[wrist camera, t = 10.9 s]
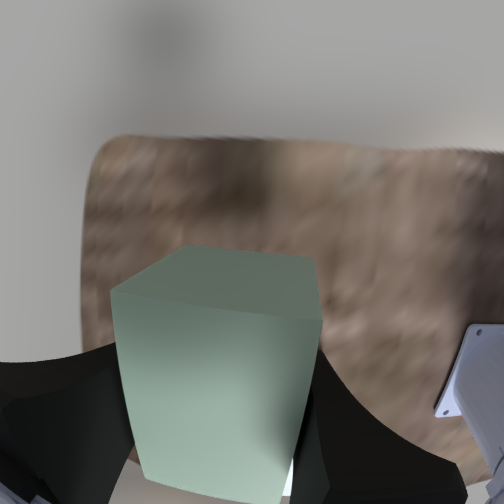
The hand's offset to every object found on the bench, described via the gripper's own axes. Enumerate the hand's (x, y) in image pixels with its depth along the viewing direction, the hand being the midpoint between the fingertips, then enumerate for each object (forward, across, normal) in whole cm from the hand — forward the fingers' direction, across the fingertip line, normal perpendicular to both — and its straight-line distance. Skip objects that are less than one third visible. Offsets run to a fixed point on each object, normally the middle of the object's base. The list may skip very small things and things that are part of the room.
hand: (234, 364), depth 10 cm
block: (+2, 0, 0) cm, 2 cm away
